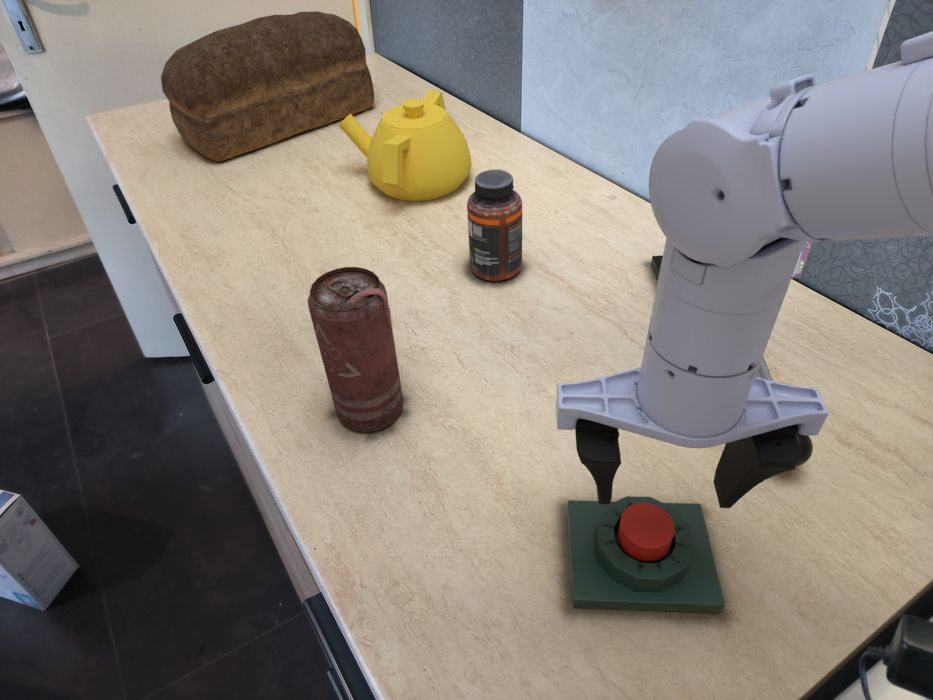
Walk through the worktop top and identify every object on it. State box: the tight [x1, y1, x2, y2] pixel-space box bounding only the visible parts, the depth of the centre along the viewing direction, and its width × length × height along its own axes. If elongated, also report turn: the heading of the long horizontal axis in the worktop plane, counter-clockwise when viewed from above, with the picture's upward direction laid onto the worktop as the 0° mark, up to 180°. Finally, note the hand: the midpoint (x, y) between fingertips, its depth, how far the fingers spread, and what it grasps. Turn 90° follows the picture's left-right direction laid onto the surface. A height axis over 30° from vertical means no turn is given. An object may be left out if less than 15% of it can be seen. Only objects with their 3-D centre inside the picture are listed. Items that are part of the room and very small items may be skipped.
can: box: [307, 266, 404, 433], centre depth 55 cm, size 6×6×14 cm
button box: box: [566, 495, 726, 614], centre depth 46 cm, size 10×8×3 cm
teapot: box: [337, 89, 473, 202], centre depth 87 cm, size 20×18×11 cm
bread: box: [160, 10, 375, 162], centre depth 102 cm, size 15×32×16 cm, turn 130°
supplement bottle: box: [466, 169, 523, 282], centre depth 71 cm, size 6×6×11 cm
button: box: [618, 503, 675, 561], centre depth 45 cm, size 4×4×2 cm
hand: (661, 493), depth 43 cm, fingers open, 7 cm apart
